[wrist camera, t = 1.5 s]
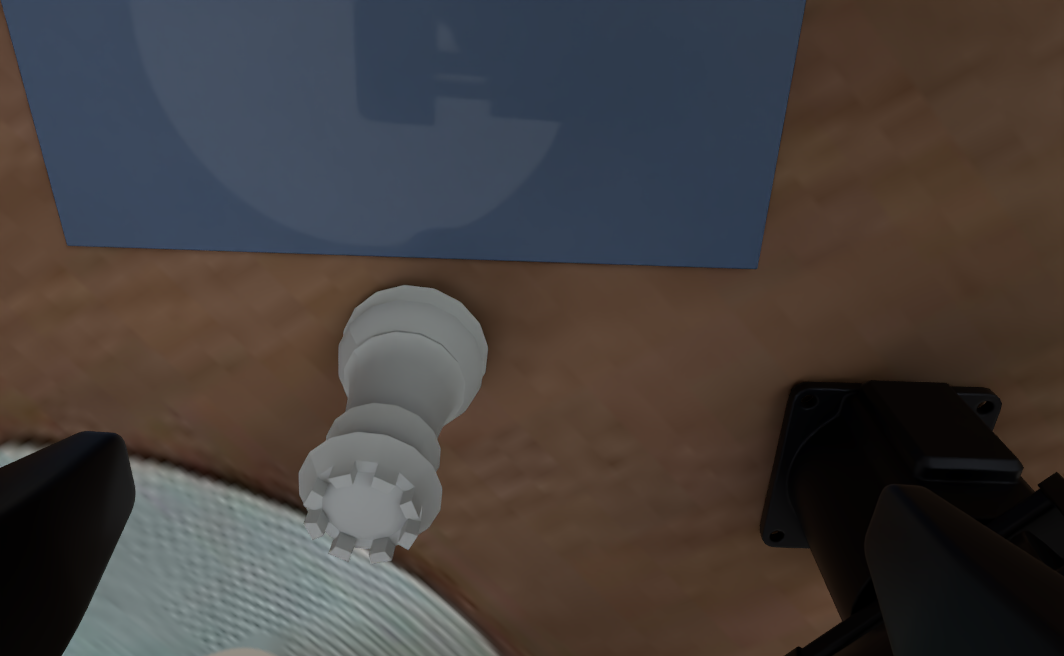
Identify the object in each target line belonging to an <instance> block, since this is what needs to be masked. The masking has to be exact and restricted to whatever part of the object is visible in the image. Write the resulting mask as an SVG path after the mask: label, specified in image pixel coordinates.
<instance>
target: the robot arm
mask: <svg viewBox="0 0 1064 656" xmlns="http://www.w3.org/2000/svg"><path fill="white" fill-rule="evenodd" d="M807 395H813V396H812V398H811V399H810V400H809V401H806V402H801V400H802V398H804V397H805V396H807ZM984 401H986V403H985V404H984V405H983V406H981V407H978V405H979V404H980V403H982V402H984ZM1001 406H1002V402H1001V400H1000V398H999V397H998V396H997V395H996V394H995V393H994V392H993V391H991V390H990V389H988V388H982V387H953V386H950V385H949V384H947V383H935V382H905V381H876V380H871V381H868V382H865V383H835V382H802V383H799V384H797V385H796V386H795V387H794V388H792V389H791V392H790V394H789V398H788V402H787V407H786V411H785V416H784V420H783V425H782V429H781V434H780V438H779V443H778V447H777V452H776V456H775V461H774V465H773V470H772V474H771V479H770V483H769V488H768V492H767V497H766V501H765V506H764V510H763V515H762V519H761V524H760V534H761V537H762V539H763V541H764V543H765V544H766V545H768V546H771V547H783V548H810V550H811V552H812V554H813V556H814V559H815V561H816V563H817V565H818V568H819V570H820V572H821V574H822V577H823V579H824V581H825V583H826V586H827V588H828V590H829V592H830V595H831V597H832V599H833V601H834V604H835V606H836V608H837V610H838V613H839V615H840V617H841V619H842V622H841V623H839V624H838V625H836V626H835V627H833V628H832V629H830V630H829V631H827V632H826V633H824V634H823V635H821V636H820V637H818V638H817V639H815V640H814V641H812V642H811V643H809V644H808V645H806V646H805V647H803V648H801V647H796V648H795V649H794V650H792V651H791V652H789V653H788V654H786V655H785V656H1064V478H1063V477H1062V476H1061V475H1060V474H1059V473H1057V472H1056V473H1054V474H1053V475H1051V476H1050V477H1048V478H1047V479H1045V480H1044V481H1042V482H1041V483H1039V484H1038V486H1039V487H1040V489H1039V490H1037V491H1036V492H1035V491H1034V490H1033V489H1032V488H1031V487H1030V486H1029V485H1028V484H1027V482H1026V481H1025V480H1024V479H1023V478H1022V477H1021V473H1022V471H1023V468H1024V467H1023V465H1022V463H1021V462H1020V461H1019V460H1018V458H1017V457H1016V456H1015V455H1014V454H1013V453H1012V452H1011V451H1010V450H1009V449H1008V447H1007V446H1006V445H1005V444H1004V443H1003V442H1002V441H1001V440H1000V439H999V438H998V437H997V436H996V435H995V433H994V432H993V429H994V426H995V423H996V421H997V418H998V415H999V413H1000V410H1001ZM977 407H978V408H977ZM134 502H135V485H134V480H133V476H132V471H131V467H130V462H129V458H128V453H127V449H126V445H125V442H124V440H123V438H122V437H121V436H120V435H118V434H116V433H109V432H94V431H83V432H79V433H77V434H74V435H72V436H70V437H68V438H66V439H63V440H61V441H59V442H57V443H54V444H52V445H50V446H48V447H46V448H43V449H41V450H39V451H37V452H34V453H32V454H30V455H28V456H26V457H23V458H21V459H19V460H17V461H15V462H12V463H10V464H8V465H6V466H3V467H1V468H0V656H62V654H63V653H64V651H65V649H66V647H67V646H68V644H69V642H70V640H71V639H72V637H73V635H74V633H75V631H76V630H77V628H78V626H79V624H80V622H81V620H82V618H83V616H84V614H85V612H86V610H87V608H88V606H89V604H90V601H91V599H92V597H93V595H94V593H95V590H96V588H97V586H98V584H99V582H100V580H101V577H102V575H103V573H104V571H105V569H106V566H107V564H108V562H109V560H110V558H111V555H112V553H113V551H114V549H115V547H116V544H117V542H118V540H119V538H120V536H121V534H122V531H123V529H124V527H125V525H126V523H127V520H128V518H129V516H130V514H131V512H132V509H133V506H134ZM774 531H779V532H778V533H775V534H771V533H772V532H774Z"/></svg>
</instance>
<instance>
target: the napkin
mask: <svg viewBox="0 0 1064 656" xmlns="http://www.w3.org/2000/svg"><path fill="white" fill-rule="evenodd" d="M1 3H2V7H3V10H4V14H5V18H6V21H7V25H8V29H9V32H10V36H11V40H12V43H13V47H14V51H15V55H16V58H17V62H18V66H19V69H20V73H21V77H22V80H23V84H24V88H25V91H26V95H27V99H28V102H29V106H30V110H31V114H32V117H33V121H34V125H35V128H36V132H37V136H38V139H39V143H40V147H41V150H42V154H43V158H44V162H45V165H46V169H47V173H48V176H49V180H50V184H51V187H52V191H53V195H54V198H55V202H56V206H57V209H58V213H59V217H60V221H61V224H62V228H63V232H64V235H65V239H66V243H67V245H68V246H92V247H122V248H151V249H180V250H209V251H239V252H268V253H297V254H327V255H356V256H385V257H415V258H444V259H473V260H503V261H532V262H561V263H590V264H620V265H649V266H678V267H708V268H737V269H757V267H758V262H759V256H760V251H761V245H762V240H763V234H764V229H765V223H766V218H767V212H768V207H769V201H770V196H771V190H772V185H773V179H774V174H775V168H776V163H777V157H778V152H779V146H780V141H781V135H782V130H783V124H784V119H785V113H786V108H787V102H788V97H789V91H790V86H791V80H792V75H793V69H794V64H795V59H796V53H797V48H798V42H799V37H800V31H801V26H802V20H803V15H804V9H805V4H806V0H1Z"/></svg>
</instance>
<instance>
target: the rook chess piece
mask: <svg viewBox="0 0 1064 656" xmlns="http://www.w3.org/2000/svg"><path fill="white" fill-rule="evenodd" d="M487 353H488V346H487V343H486V340H485V337H484V334H483V331H482V328H481V326H480V323H479V322H478V321H477V320H476V318H475V317H474V316H473V315H472V314H471V313H470V312H469V311H468V310H467V308H466V307H465V306H464V305H463V304H462V303H461V302H460V301H458V300H456V299H454V298H452V297H450V296H448V295H446V294H444V293H442V292H440V291H438V290H436V289H434V288H425V287H417V286H409V285H402V286H398V287H394V288H390V289H386V290H383V291H379V292H376V293H375V294H373V295H372V296H371V297H369V298H368V299H367V300H365V301H364V302H363V303H361V304H360V305H359V306H357V307H356V308H355V309H354V311H353V313H352V315H351V317H350V319H349V321H348V323H347V325H346V327H345V329H344V336H343V338H342V340H341V342H340V344H339V378H340V381H341V383H342V385H343V387H344V391H345V393H346V395H347V397H348V400H347V406H346V411H345V413H344V414H342V415H341V416H339V417H338V418H337V419H335V421H334V423H333V425H332V426H331V428H330V430H329V432H328V434H327V436H326V441H325V442H323V443H322V444H321V445H319V446H318V447H316V448H315V449H314V450H312V451H311V452H309V454H308V456H307V458H306V460H305V462H304V464H303V465H302V467H301V469H300V471H299V495H300V497H301V499H302V501H303V503H304V505H303V506H305V507H306V508H307V510H308V514H307V516H306V518H305V521H304V523H303V524H304V526H305V527H306V529H307V531H308V533H309V535H310V537H311V539H312V540H314V539H317V538H319V537H322V536H323V535H324V533H325V532H326V533H327V534H328V535H330V536H331V537H332V538H333V542H332V545H331V548H330V551H329V553H328V554H330V555H333V556H335V557H338V558H340V559H343V560H345V561H347V562H349V560H350V557H351V554H352V551H353V548H354V547H355V548H365V549H370V552H369V558H370V562H371V564H376V563H381V562H386V561H391V560H392V557H393V553H394V549H395V545H398V544H399V545H401V546H402V547H404V548H406V549H407V550H409V548H410V547H411V545H412V544H413V542H414V541H415V539H416V538H417V536H418V534H420V533H421V532H423V531H425V530H426V529H428V528H429V526H430V525H431V523H432V522H433V520H434V519H435V517H436V516H437V514H438V513H439V511H440V508H441V497H442V486H441V484H440V481H439V479H438V477H437V474H436V471H437V469H438V468H439V463H440V451H441V448H440V446H439V443H438V441H437V438H438V436H439V434H440V432H441V429H442V427H443V426H444V425H446V424H447V423H449V422H450V421H452V420H453V419H455V418H456V417H458V416H459V415H461V414H462V413H464V412H465V410H466V409H467V408H468V406H469V405H470V403H471V402H472V400H473V399H474V397H475V395H476V394H477V392H478V391H479V389H480V387H481V382H482V377H483V375H484V374H485V371H486V362H487Z"/></svg>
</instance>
